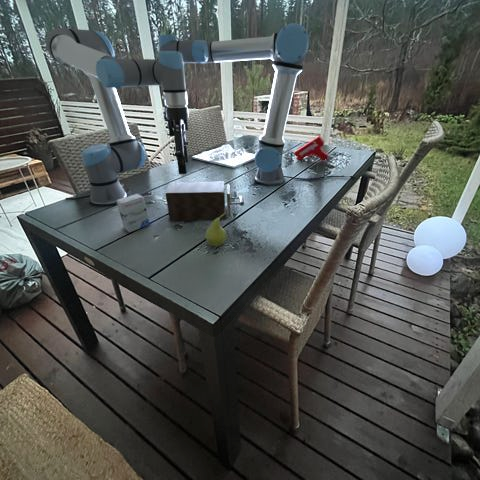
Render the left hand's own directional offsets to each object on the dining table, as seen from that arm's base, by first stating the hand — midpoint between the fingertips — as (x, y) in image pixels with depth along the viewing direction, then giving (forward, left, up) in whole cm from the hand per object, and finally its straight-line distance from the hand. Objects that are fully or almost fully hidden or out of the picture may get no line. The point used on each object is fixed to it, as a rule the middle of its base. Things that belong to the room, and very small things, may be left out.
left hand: (183, 167), depth 104 cm
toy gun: (+39, +91, -19) cm, 100 cm away
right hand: (-17, +27, +7) cm, 33 cm away
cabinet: (+5, 0, -19) cm, 19 cm away
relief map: (-15, +78, -19) cm, 82 cm away
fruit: (+21, -19, -19) cm, 34 cm away
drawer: (+10, +2, -18) cm, 21 cm away
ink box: (-13, -18, -19) cm, 29 cm away
